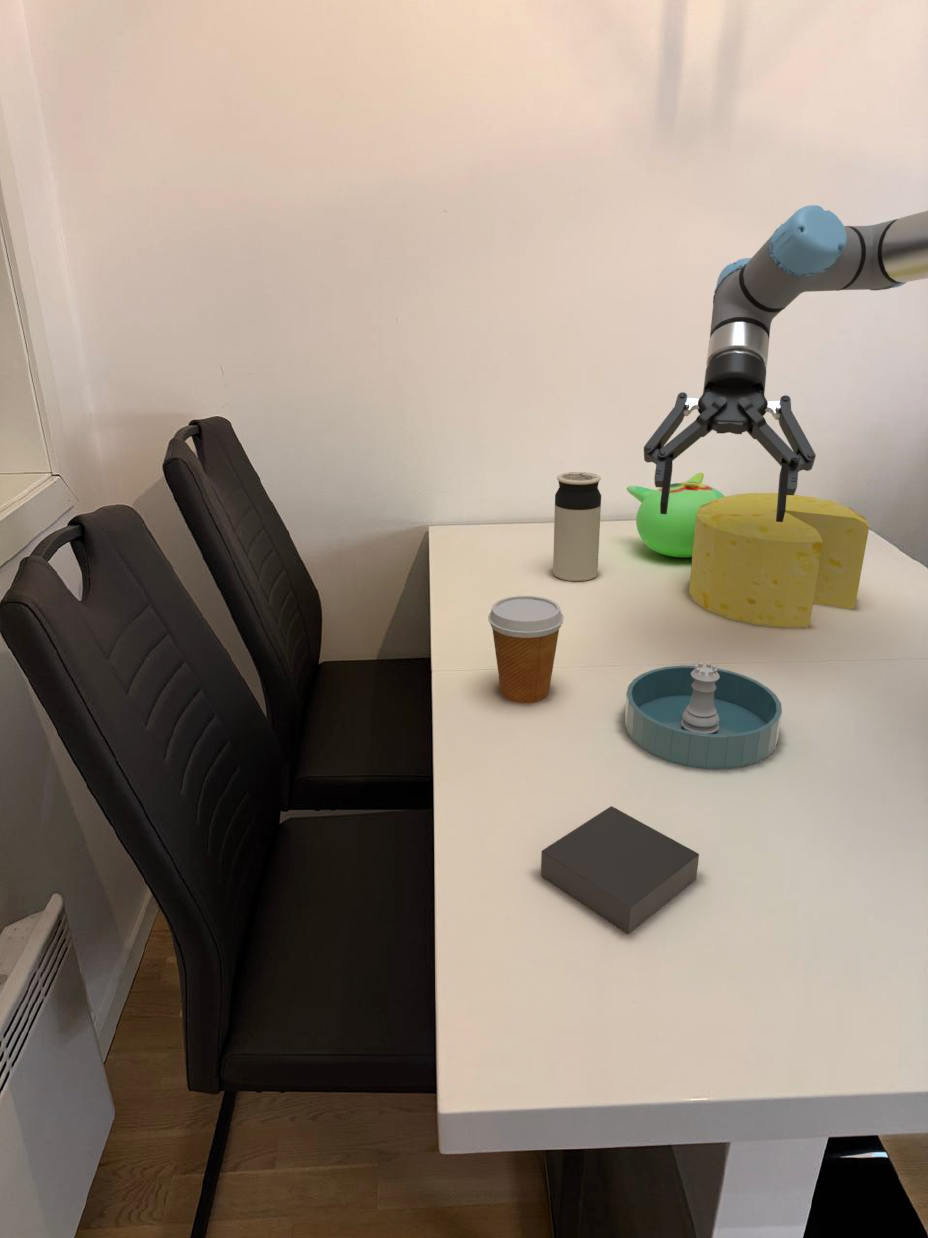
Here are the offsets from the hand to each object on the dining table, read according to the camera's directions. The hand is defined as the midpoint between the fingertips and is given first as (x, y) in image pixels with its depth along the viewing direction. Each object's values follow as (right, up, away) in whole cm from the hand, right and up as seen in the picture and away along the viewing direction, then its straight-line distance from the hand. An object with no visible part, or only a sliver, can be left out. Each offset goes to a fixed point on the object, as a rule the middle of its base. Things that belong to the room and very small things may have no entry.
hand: (720, 512), depth 101 cm
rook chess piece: (-3, -26, -1) cm, 26 cm away
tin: (-3, -26, -1) cm, 26 cm away
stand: (-17, -37, -25) cm, 47 cm away
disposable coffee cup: (-23, -23, +9) cm, 34 cm away
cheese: (+20, -9, +39) cm, 44 cm away
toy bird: (+11, 0, +60) cm, 61 cm away
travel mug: (-11, -5, +50) cm, 52 cm away
